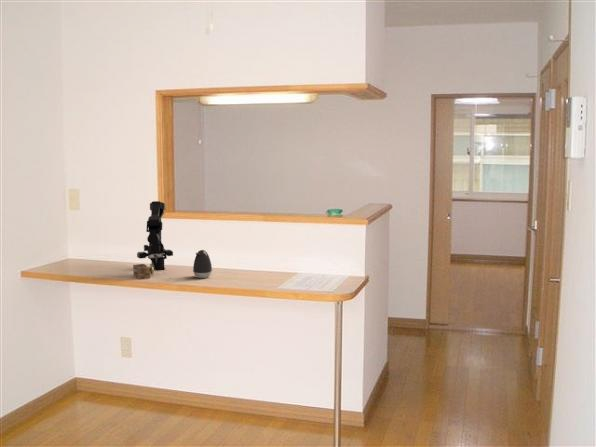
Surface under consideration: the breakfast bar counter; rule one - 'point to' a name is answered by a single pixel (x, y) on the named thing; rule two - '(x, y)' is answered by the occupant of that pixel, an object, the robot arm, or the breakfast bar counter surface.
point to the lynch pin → (150, 269)
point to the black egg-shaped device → (202, 265)
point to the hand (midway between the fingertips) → (155, 269)
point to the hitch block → (142, 271)
